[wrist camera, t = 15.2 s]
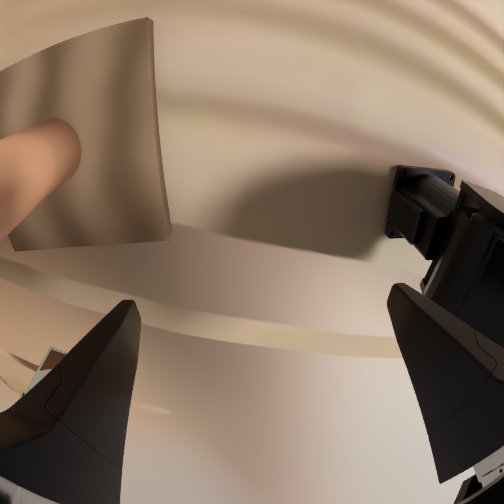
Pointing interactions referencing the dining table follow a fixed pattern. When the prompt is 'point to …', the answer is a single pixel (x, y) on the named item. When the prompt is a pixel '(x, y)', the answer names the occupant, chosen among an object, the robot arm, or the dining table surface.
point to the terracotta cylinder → (34, 168)
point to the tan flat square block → (94, 138)
